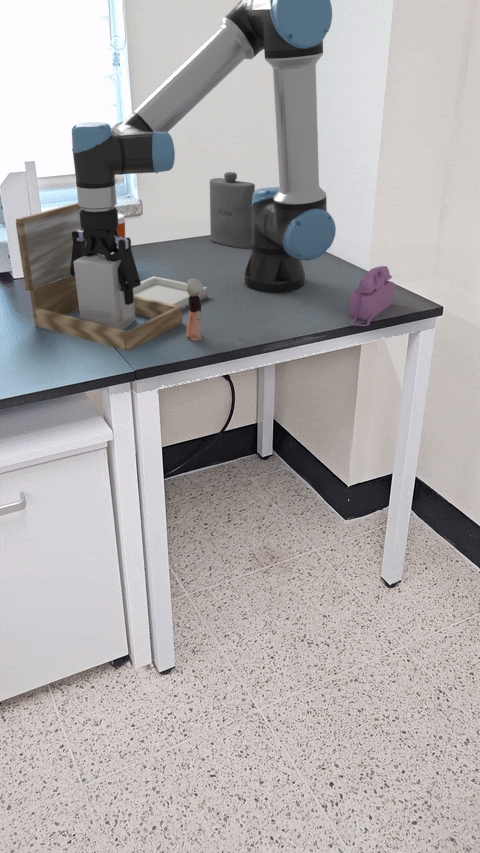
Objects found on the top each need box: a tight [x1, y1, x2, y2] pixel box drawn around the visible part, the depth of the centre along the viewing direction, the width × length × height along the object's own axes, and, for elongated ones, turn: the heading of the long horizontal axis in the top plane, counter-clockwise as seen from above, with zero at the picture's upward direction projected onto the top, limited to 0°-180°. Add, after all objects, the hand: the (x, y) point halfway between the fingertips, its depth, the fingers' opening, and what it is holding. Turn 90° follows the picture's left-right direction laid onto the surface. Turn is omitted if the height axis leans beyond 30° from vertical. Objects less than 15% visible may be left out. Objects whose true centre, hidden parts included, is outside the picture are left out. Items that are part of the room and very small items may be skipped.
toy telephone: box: [348, 265, 395, 327], centre depth 159 cm, size 18×6×10 cm, turn 148°
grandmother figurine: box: [185, 278, 204, 341], centre depth 146 cm, size 8×4×13 cm, turn 24°
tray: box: [133, 275, 209, 311], centre depth 168 cm, size 16×16×2 cm
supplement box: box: [73, 252, 137, 330], centre depth 152 cm, size 9×9×15 cm
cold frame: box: [15, 201, 183, 352], centre depth 150 cm, size 27×18×23 cm
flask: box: [209, 171, 256, 249], centre depth 207 cm, size 15×6×20 cm, turn 52°
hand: (107, 313), depth 154 cm, fingers closed on supplement box, 10 cm apart
